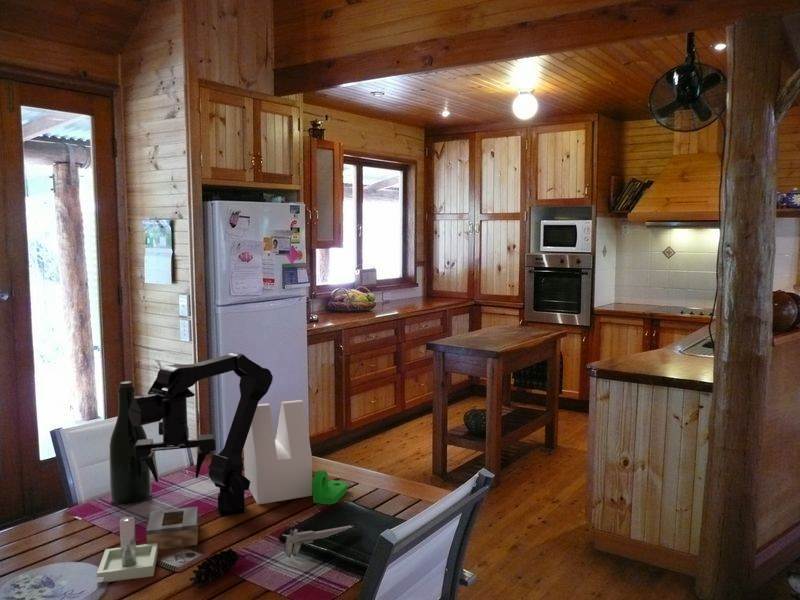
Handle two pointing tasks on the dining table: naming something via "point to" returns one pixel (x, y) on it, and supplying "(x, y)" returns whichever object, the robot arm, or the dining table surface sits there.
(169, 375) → the robot arm
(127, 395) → the dark green wine bottle
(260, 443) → the white notched block
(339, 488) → the mechanical part
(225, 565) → the pine cone
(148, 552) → the tray
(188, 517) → the block
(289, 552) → the caliper
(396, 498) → the dining table surface
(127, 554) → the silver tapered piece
